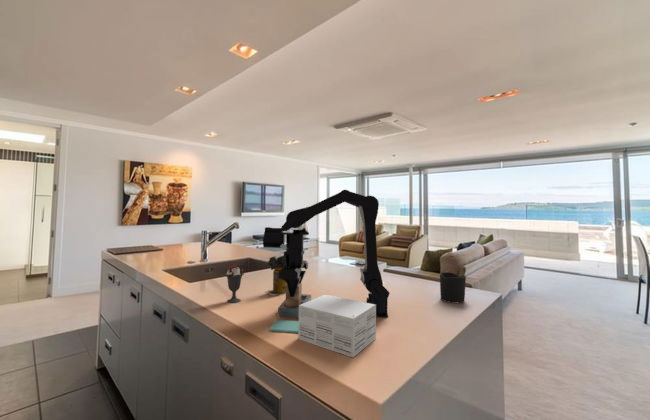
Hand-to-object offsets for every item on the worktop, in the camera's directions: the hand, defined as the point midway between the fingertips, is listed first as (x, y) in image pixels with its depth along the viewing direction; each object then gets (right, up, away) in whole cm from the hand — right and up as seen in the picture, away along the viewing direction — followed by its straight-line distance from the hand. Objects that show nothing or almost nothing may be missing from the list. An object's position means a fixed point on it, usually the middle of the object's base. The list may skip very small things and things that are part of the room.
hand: (293, 294), depth 92 cm
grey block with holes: (0, -6, +3) cm, 7 cm away
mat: (0, -6, -12) cm, 13 cm away
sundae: (-24, -6, +11) cm, 27 cm away
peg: (0, -5, 0) cm, 5 cm away
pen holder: (+62, -8, +18) cm, 65 cm away
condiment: (-9, -7, +24) cm, 26 cm away
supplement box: (+14, -7, -18) cm, 24 cm away
